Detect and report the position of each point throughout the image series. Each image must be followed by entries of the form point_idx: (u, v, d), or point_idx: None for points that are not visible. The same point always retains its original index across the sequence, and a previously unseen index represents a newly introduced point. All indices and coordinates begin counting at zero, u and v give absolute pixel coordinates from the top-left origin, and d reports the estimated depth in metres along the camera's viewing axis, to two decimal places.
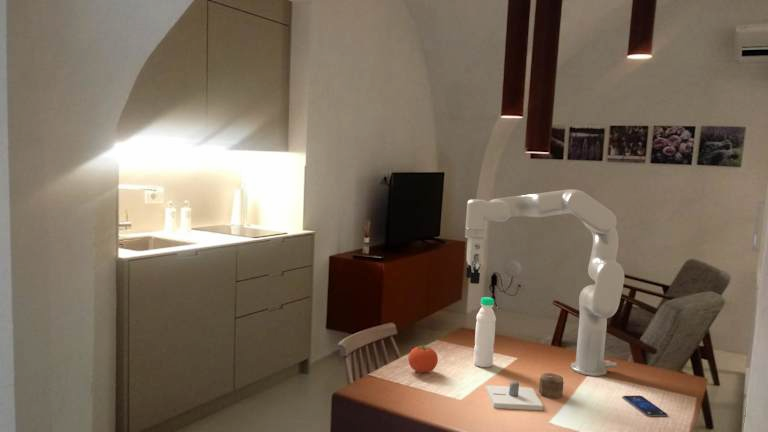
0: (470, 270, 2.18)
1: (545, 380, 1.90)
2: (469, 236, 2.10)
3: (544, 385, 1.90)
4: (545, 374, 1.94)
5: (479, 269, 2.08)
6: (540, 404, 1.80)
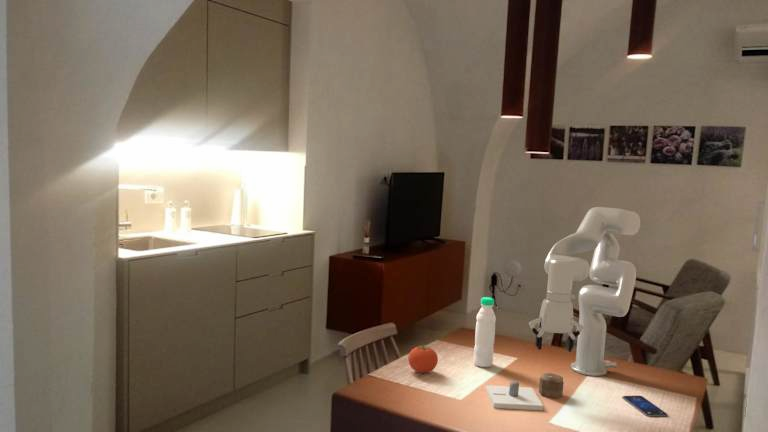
0: None
1: (545, 380, 1.90)
2: (569, 302, 1.87)
3: (544, 385, 1.90)
4: (545, 374, 1.94)
5: None
6: (540, 404, 1.80)
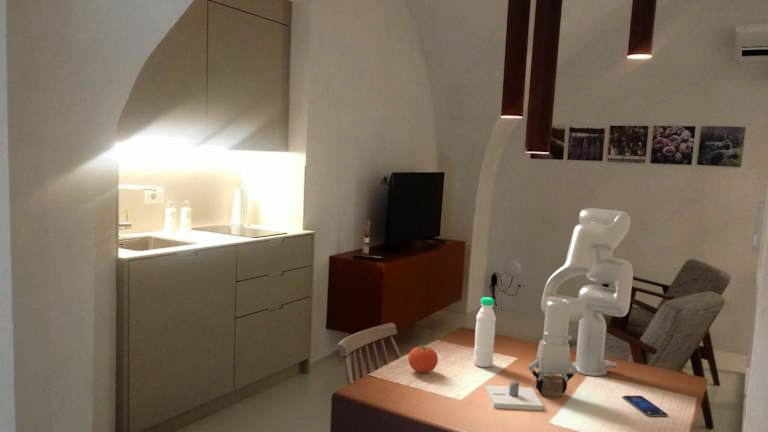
0: None
1: (545, 380, 1.90)
2: (565, 343, 1.88)
3: (544, 385, 1.90)
4: (545, 374, 1.94)
5: None
6: (540, 404, 1.80)
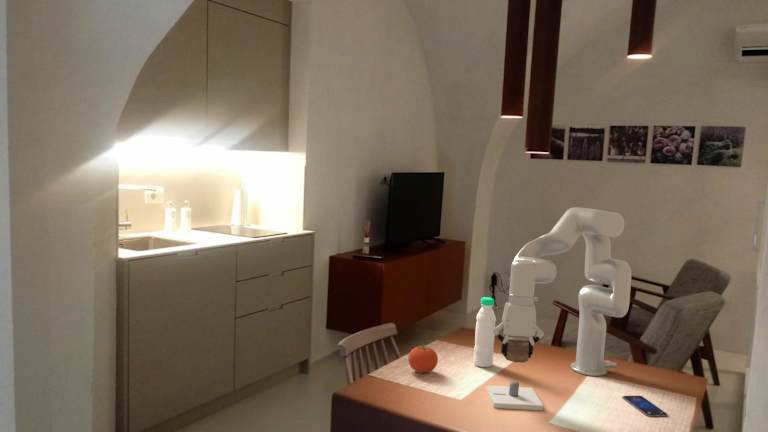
0: None
1: (510, 343, 1.82)
2: (531, 305, 1.81)
3: (509, 348, 1.83)
4: (511, 338, 1.87)
5: None
6: (540, 404, 1.80)
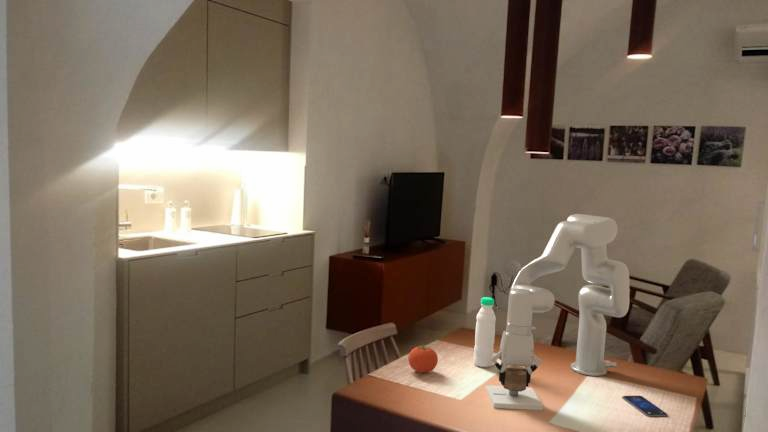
0: None
1: (508, 372, 1.83)
2: (529, 334, 1.82)
3: (507, 377, 1.84)
4: (509, 366, 1.87)
5: None
6: (540, 404, 1.80)
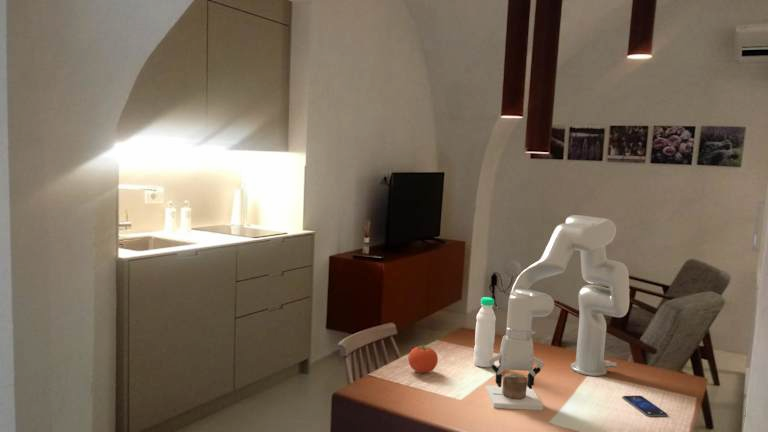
0: None
1: (508, 380, 1.84)
2: (528, 338, 1.82)
3: (507, 385, 1.84)
4: (509, 374, 1.88)
5: (532, 369, 1.87)
6: (540, 404, 1.80)
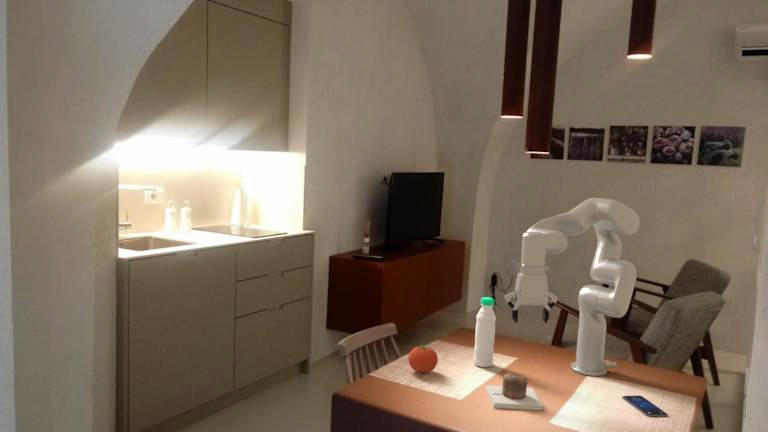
0: None
1: (508, 380, 1.84)
2: (543, 274, 1.88)
3: (507, 385, 1.84)
4: (509, 374, 1.88)
5: None
6: (540, 404, 1.80)
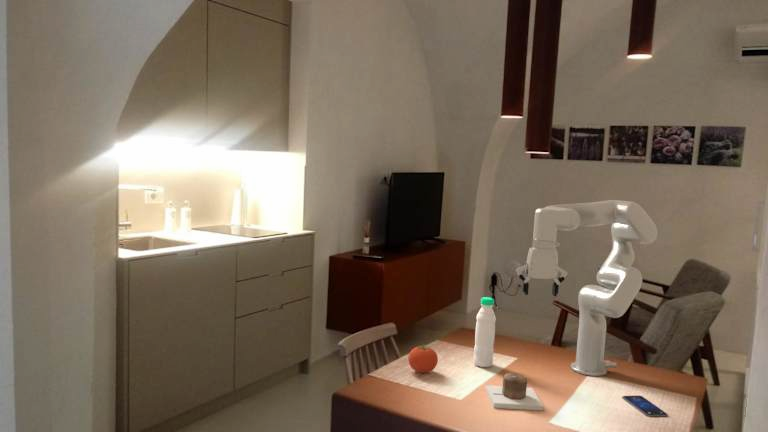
0: None
1: (508, 380, 1.84)
2: (554, 248, 1.96)
3: (507, 385, 1.84)
4: (509, 374, 1.88)
5: None
6: (540, 404, 1.80)
